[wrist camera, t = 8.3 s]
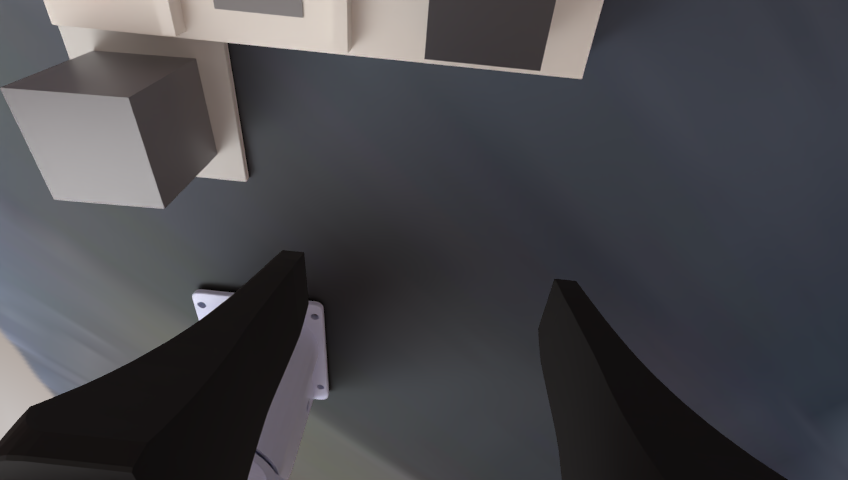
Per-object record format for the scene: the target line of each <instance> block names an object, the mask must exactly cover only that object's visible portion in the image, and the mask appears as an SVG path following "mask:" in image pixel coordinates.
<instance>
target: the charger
mask: <svg viewBox="0 0 848 480" xmlns="http://www.w3.org/2000/svg"><path fill="white" fill-rule="evenodd" d="M0 89H1V91H2V93H3V95H4V97H5V99H6V101H7V103H8V105H9V107H10V109H11V112H12V114H13V116H14V118H15V120H16V122H17V124H18V126H19V128H20V130H21V132H22V134H23V136H24V138H25V141H26V143H27V145H28V147H29V149H30V151H31V153H32V155H33V157H34V159H35V161H36V163H37V165H38V167H39V169H40V172H41V174H42V176H43V178H44V180H45V182H46V184H47V186H48V188H49V190H50V192H51V194H52V196H53V198H54V200H64V201H76V202H88V203H100V204H112V205H124V206H136V207H148V208H160V209H165V208H166V207H167V206H168V205H169V204H170V203H171V202H172V201H173V200H174V199H175V198H176V196H177V195H178V194H179V193H180V192H181V191H182V190H183V189H184V188H185V187H186V186H187V185H188V184H189V183H190V182H191V181H192V180H193V179H194V178H195V177H196V176H197V175H198V174H199V173H200V172H201V171H202V170H203V169H204V168H205V167H206V166H207V165H208V164H209V163H210V162H211V161H212V160H213V159H214V158H215V156H216V155H217V149H216V145H215V140H214V136H213V132H212V127H211V123H210V118H209V114H208V109H207V105H206V101H205V96H204V92H203V87H202V83H201V78H200V74H199V70H198V65H197V61H196V58H183V57H170V56H157V55H144V54H131V53H118V52H105V51H91V52H88V53H86V54H83V55H81V56H78V57H76V58H73V59H71V60H68V61H66V62H63V63H61V64H58V65H56V66H53V67H51V68H48V69H46V70H43V71H41V72H38V73H36V74H33V75H30V76H28V77H25V78H23V79H20V80H18V81H15V82H13V83H10V84H8V85H5V86H3V87H0Z"/></svg>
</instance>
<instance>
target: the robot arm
mask: <svg viewBox="0 0 848 480" xmlns="http://www.w3.org/2000/svg"><path fill="white" fill-rule="evenodd" d="M192 298H193V302H194V305H195V309H196V312H197V316H198V319H199V321H198V322H197V323H195V324H194V325H192V326H191V327H189V328H188V329H186V330H185V331H183V332H182V333H180V334H179V335H177V336H176V337H174V338H172V339H171V340H169V341H168V342H166V343H164V344H162V345H161V346H159V347H157V348H155V349H154V350H152V351H150V352H148V353H146V354H145V355H143V356H141V357H139V358H138V359H136V360H134V361H132V362H130V363H128V364H126V365H124V366H122V367H120V368H118V369H116V370H114V371H112V372H110V373H108V374H106V375H104V376H102V377H100V378H98V379H95V380H93V381H91V382H89V383H87V384H84V385H82V386H80V387H78V388H75V389H73V390H70V391H68V392H65V393H63V394H61V395H58V396H56V397H53V398H51V399H49V400H46V401H44V402H41V403H39V404H36V405H33V406H31V407H29V409H28V410H27V411H26V412H25V413H24V414H23V415H22V416H21V417H20V418H19V419H18V420H17V422H16V423H15V424H14V425H13V426H12V428H11V429H10V430H9V431H8V432H7V433H6V434H5V436H4V437H3V438H2V439H1V440H0V480H288V478H289V476H290V474H291V471H292V469H293V465H294V462H295V459H296V455H297V452H298V449H299V445H300V442H301V439H302V435H303V432H304V429H305V425H306V422H307V418H308V415H309V412H310V408H311V405H312V402H313V399H326V398H328V394H329V383H328V368H327V352H326V337H325V321H324V308H323V305H322V304H321V303H319V302H316V301H308V291H307V280H306V269H305V258H304V252H294V251H285V250H283V251H281V252H280V253H279V254H278V255H277V256H276V257H275V258H273V259H272V260H271V261H270V262H269V263H268V264H267V265H266V266H265V267H264V268H263V269H261V270H260V271H259V272H258V273H257V274H256V275H255V276H254V277H253V278H251V279H250V280H249V281H248V282H247V283H246V284H245V285H243V286H242V287H241V288H240V289H239V290H238V291H236V292H235V293H233V292H223V291H214V290H205V289H197V290H196V291H195V292H194V294H193V295H192ZM314 314H317V315H314ZM538 332H539V347H540V358H541V365H542V370H543V375H544V379H545V384H546V389H547V394H548V398H549V403H550V407H551V412H552V417H553V421H554V426H555V431H556V436H557V442H558V448H559V457H560V466H561V475H562V480H787V479H786V478H784V477H783V476H781V475H780V474H778V473H777V472H775V471H774V470H772V469H771V468H769V467H768V466H766V465H764V464H763V463H761V462H760V461H758V460H757V459H755V458H754V457H753V456H751V455H750V454H748V453H747V452H746V451H744V450H743V449H741V448H740V447H739V446H737V445H736V444H735V443H733V442H732V441H730V440H729V439H728V438H726V437H725V436H724V435H722V434H721V433H720V432H719V431H717V430H716V429H715V428H713V427H712V426H711V425H710V424H708V423H707V422H706V421H705V420H703V419H702V418H701V417H700V416H699V415H697V414H696V413H695V412H694V411H693V410H691V409H690V408H689V407H688V406H687V405H686V404H684V403H683V402H682V401H681V400H680V399H679V398H678V397H677V396H675V395H674V394H673V393H672V392H671V391H670V390H669V389H668V388H667V387H666V386H665V385H664V384H663V383H662V382H661V381H660V380H659V379H658V378H656V377H655V376H654V375H653V374H652V373H651V372H650V371H649V370H648V368H647V367H646V366H645V365H644V364H643V363H642V362H641V361H640V360H639V359H638V358H637V357H636V356H635V354H634V353H633V352H632V351H631V350H630V349H629V348H628V347H627V345H626V344H625V343H624V342H623V341H622V340H621V338H620V337H619V336H618V335H617V334H616V332H615V331H614V330H613V329H612V328H611V326H610V325H609V324H608V323H607V321H606V320H605V319H604V317H603V316H602V315H601V314H600V312H599V311H598V310H597V308H596V307H595V306H594V304H593V303H592V302H591V300H590V299H589V298H588V296H587V295H586V294H585V292H584V291H583V290H582V288H581V287H580V286H579V284H578V283H577V282H576V281H570V280H560V279H554V282H553V285H552V288H551V291H550V294H549V298H548V301H547V304H546V307H545V310H544V313H543V316H542V319H541V322H540V325H539V328H538Z"/></svg>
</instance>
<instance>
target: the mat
mask: <svg viewBox="0 0 848 480" xmlns="http://www.w3.org/2000/svg"><path fill="white" fill-rule="evenodd" d="M58 27H59V30H60V33H61V35H62V38H63V41H64V44H65V47H66V49H67V52H68V55H69V58H70V60H71V59H73V58H76V57H78V56H81V55H83V54H86V53H88V52H91V51H105V52H118V53H131V54H144V55H157V56H170V57H183V58H196V61H197V65H198V70H199V74H200V78H201V83H202V87H203V92H204V96H205V101H206V105H207V109H208V114H209V118H210V123H211V127H212V132H213V136H214V140H215V145H216V149H217V155H216V156H215V158H214V159H213V160H212V161H211V162H210V163H209V164H208V165H207V166H206V167H205V168H204V169H203V170H202V171H201V172H200V173H199V174H198V175H197V176H196V177H204V178H214V179H223V180H233V181H242V182H247V180H248V179H249V174H248V168H247V162H246V155H245V149H244V143H243V137H242V130H241V124H240V118H239V112H238V105H237V99H236V93H235V87H234V80H233V74H232V68H231V62H230V55H229V49H228V43H226V42H216V41H206V40H196V39H187V38H177V37H167V36H158V35H148V34H138V33H128V32H119V31H109V30H99V29H90V28H80V27H70V26H60V25H58Z"/></svg>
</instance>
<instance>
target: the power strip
mask: <svg viewBox="0 0 848 480" xmlns="http://www.w3.org/2000/svg"><path fill="white" fill-rule="evenodd" d="M43 1H44V3H45V6H46V9H47V12H48V14H49V17H50V20H51V23H52V25H60V26H70V27H80V28H90V29H99V30H109V31H119V32H128V33H138V34H148V35H158V36H167V37H177V38H187V39H196V40H206V41H216V42H226V43H235V44H245V45H255V46H264V47H274V48H284V49H293V50H303V51H313V52H323V53H332V54H342V55H352V56H361V57H371V58H381V59H391V60H400V61H410V62H420V63H429V64H439V65H449V66H458V67H468V68H478V69H488V70H497V71H507V72H517V73H526V74H536V75H546V76H556V77H565V78H575V79H582V77H583V73H584V70H585V66H586V63H587V59H588V55H589V52H590V48H591V45H592V41H593V38H594V34H595V30H596V27H597V23H598V20H599V16H600V13H601V9H602V5H603V2H604V0H43Z"/></svg>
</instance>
